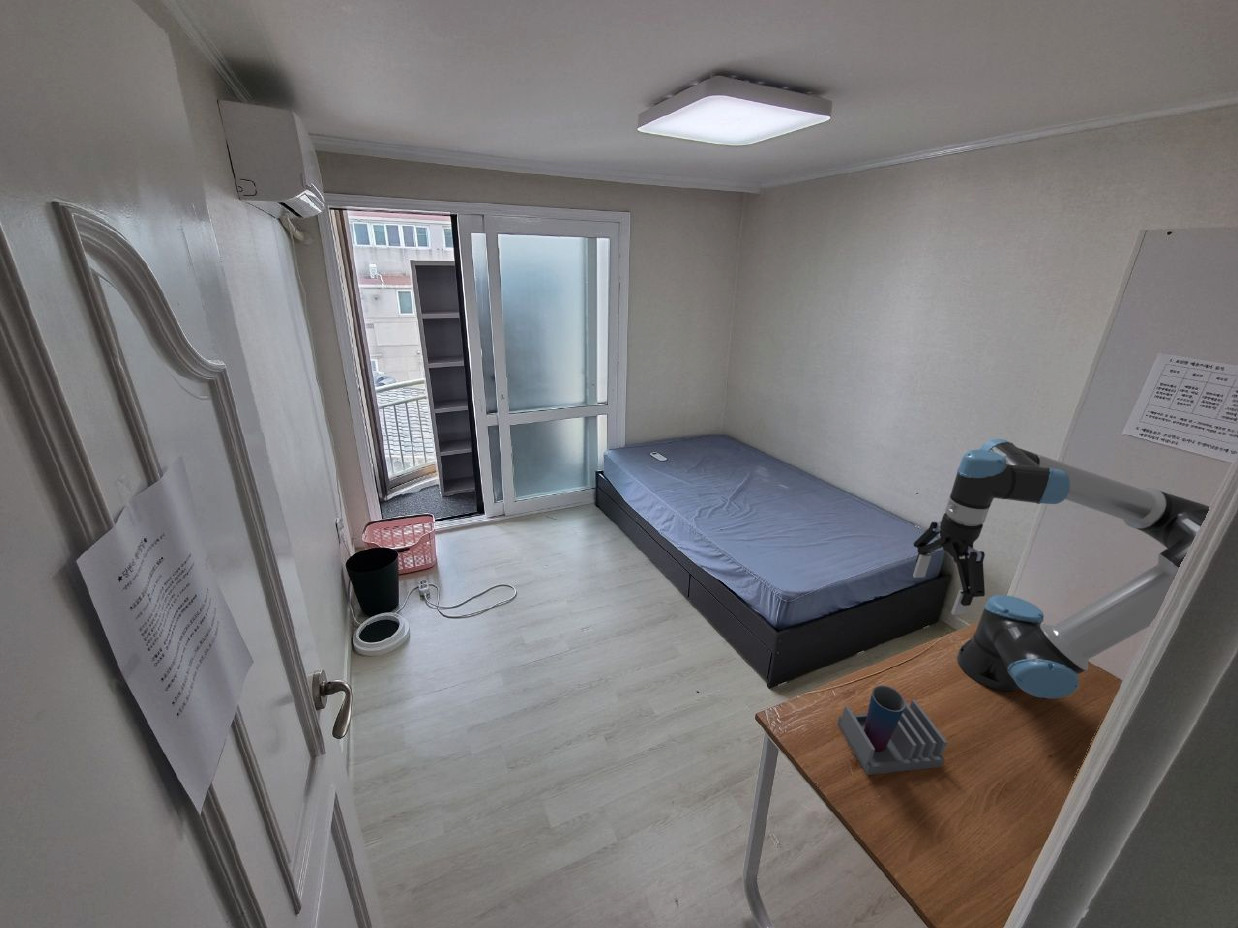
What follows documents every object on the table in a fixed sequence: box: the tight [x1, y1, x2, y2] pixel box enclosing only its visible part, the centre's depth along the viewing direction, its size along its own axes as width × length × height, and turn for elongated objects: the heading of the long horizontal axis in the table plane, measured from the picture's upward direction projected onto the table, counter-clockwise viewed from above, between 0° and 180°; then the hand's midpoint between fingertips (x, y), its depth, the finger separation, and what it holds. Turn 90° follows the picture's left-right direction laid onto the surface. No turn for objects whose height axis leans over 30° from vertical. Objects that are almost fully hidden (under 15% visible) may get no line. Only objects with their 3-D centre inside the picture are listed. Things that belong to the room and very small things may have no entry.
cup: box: [864, 684, 907, 752], centre depth 114 cm, size 7×7×15 cm
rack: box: [837, 699, 948, 776], centre depth 116 cm, size 18×13×7 cm
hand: (937, 594), depth 119 cm, fingers open, 13 cm apart
